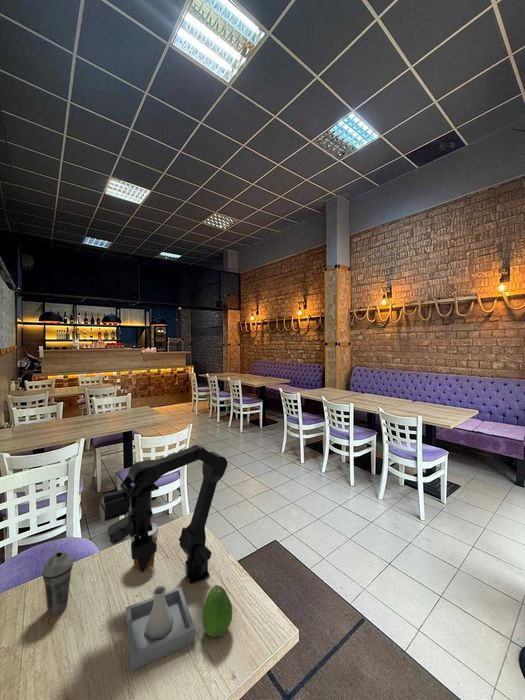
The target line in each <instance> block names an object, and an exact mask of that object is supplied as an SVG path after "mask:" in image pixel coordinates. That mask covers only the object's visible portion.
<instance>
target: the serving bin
mask: <svg viewBox="0 0 525 700" xmlns="http://www.w3.org/2000/svg"><path fill="white" fill-rule="evenodd" d="M165 599H166V603H167V605H168V608H169V610H170V612H171V614H172V616H173V625H172V629H171V630H170V631H169V633H168V634H167V635H166V636H165V637H164V638H161V639H152V640H151V639H150V638H149V637H147V636H146V635H145V634H144V632H145V629H146V625H147V622H148V619H149V616H150V613H151V610H152V607H153V602H154V596H152V597H149V598H146V599H144V600H141V601H139V602H136V603H133V604H131V605H128V606H126V607H125V621H126V624H125V625H126V632H127V633H126V635H127V636H126V637H127V646H128V647H127V648H128V655H129V667H130V670H129V671H130V673H133V672H135V671H137V670H139V669H142V668H144V667H146V666H148V665H151V664H152V663H154V662H156V661H158V660H160V659H162V658H165V657H166V656H167V657H168V656H169V655H171V654H173V653H175V652H177V651H179V650H182V649H184V648H185V647H188V646H190V645H192V644H194V643H195V641H196V633H195V632H196V628H195V625H194V622H193V618H192V616H191V612H190V609H189V606H188V603H187V600H186V597H185V595H184V591H183V588H182V586H179V587H177V588H176V587H175V588H174V589H170V590H168V591H165Z"/></svg>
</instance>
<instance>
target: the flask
mask: <svg viewBox="0 0 525 700" xmlns="http://www.w3.org/2000/svg"><path fill="white" fill-rule="evenodd" d="M166 589H167V587H166V586H164V585H157V586H156V587H155V588H154V589H153V591H152V595H153V597H154V602H153V607H152V610H151V613H150V616H149V619H148V622H147V625H146V629H145V632H144V634H145V635H146V636H147V637H149V638H150V639H151V640H152V639H161V638H164V637H165V636H166V635H167V634H168V633H169V631H170V630H171V629H172V625H173V616H172V614H171V612H170V610H169V608H168V605H167V603H166V599H165V592H166Z"/></svg>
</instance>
